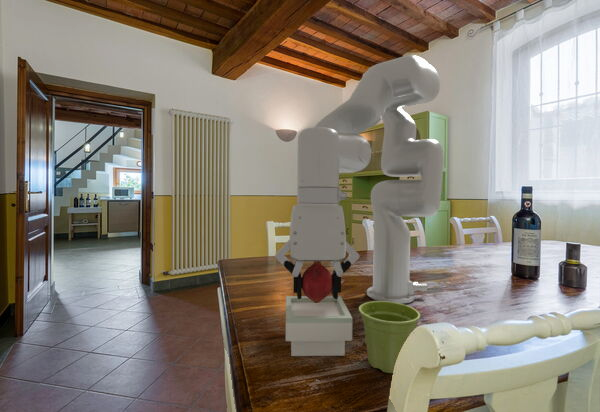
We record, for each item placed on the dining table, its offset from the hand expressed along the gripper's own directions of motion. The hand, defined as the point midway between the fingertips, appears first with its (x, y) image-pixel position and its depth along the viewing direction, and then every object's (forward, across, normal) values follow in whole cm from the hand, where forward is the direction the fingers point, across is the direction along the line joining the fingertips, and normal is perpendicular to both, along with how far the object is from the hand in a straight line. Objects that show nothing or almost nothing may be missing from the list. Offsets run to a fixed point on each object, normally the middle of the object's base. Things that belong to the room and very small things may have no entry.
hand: (316, 295), depth 55 cm
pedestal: (+9, 0, 0) cm, 9 cm away
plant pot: (+9, -11, +7) cm, 16 cm away
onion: (+2, 0, 0) cm, 2 cm away
